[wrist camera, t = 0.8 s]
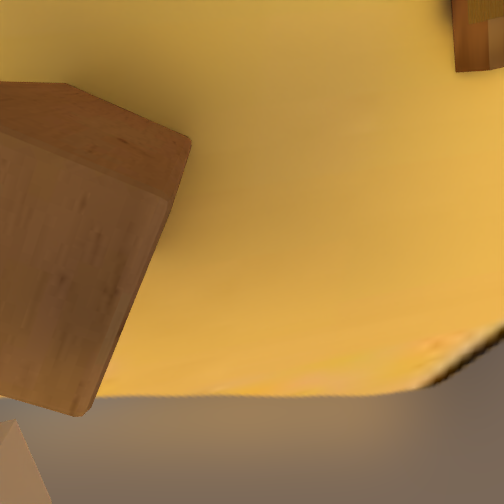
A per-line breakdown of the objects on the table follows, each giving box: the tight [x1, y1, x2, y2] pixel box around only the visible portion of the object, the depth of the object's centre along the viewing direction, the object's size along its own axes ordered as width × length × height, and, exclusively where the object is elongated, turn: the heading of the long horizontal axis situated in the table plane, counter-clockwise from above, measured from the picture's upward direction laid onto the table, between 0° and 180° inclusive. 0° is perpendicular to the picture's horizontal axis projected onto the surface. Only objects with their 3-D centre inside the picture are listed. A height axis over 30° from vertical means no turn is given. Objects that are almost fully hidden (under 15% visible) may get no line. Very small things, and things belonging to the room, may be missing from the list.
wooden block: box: [0, 81, 191, 417], centre depth 26 cm, size 10×10×20 cm
